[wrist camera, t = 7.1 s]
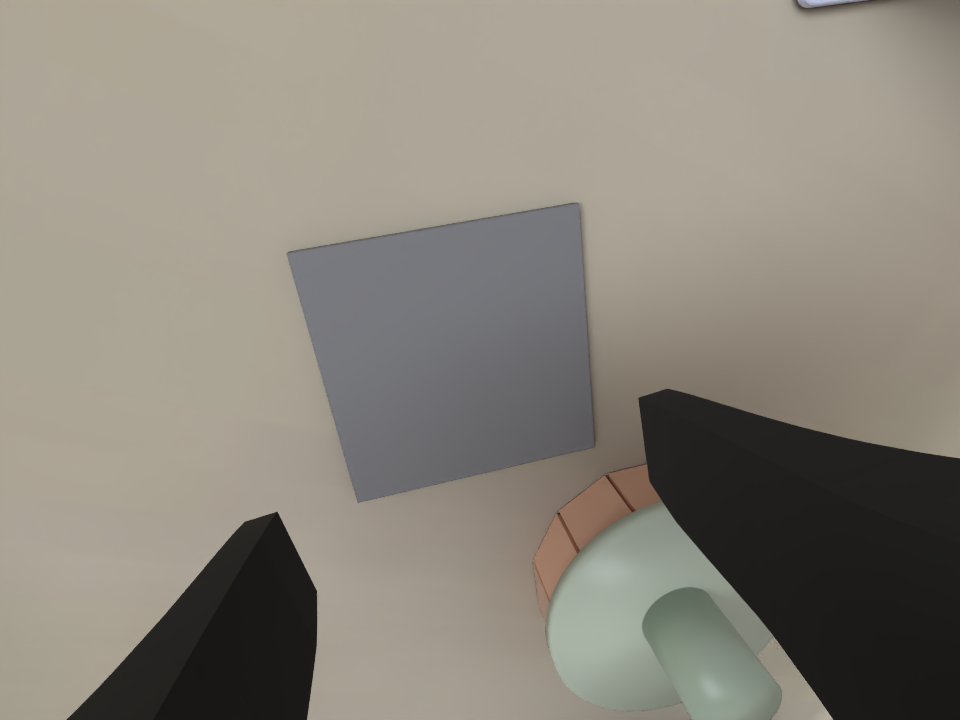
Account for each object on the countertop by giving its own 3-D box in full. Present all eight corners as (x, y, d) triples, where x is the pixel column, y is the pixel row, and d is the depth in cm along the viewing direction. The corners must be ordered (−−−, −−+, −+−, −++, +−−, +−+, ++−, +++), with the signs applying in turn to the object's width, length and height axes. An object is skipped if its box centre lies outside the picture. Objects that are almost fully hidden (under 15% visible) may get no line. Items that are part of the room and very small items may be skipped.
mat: (574, 202, 18) (579, 203, 18) (590, 442, 22) (594, 447, 22) (288, 251, 17) (286, 253, 17) (357, 496, 21) (357, 502, 21)
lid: (724, 444, 20) (825, 525, 15) (814, 597, 24) (913, 695, 20) (494, 607, 20) (527, 730, 16) (622, 728, 25) (676, 850, 20)
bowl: (741, 441, 24) (789, 477, 21) (730, 606, 28) (769, 655, 25) (523, 493, 22) (544, 540, 20) (545, 659, 26) (565, 717, 24)
